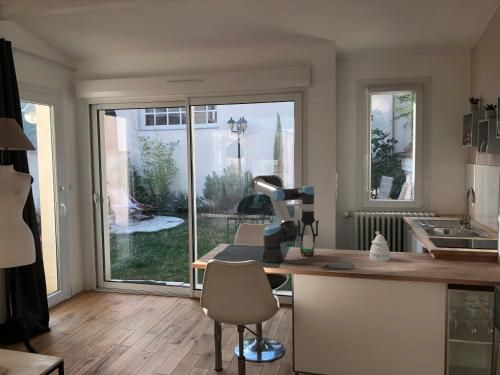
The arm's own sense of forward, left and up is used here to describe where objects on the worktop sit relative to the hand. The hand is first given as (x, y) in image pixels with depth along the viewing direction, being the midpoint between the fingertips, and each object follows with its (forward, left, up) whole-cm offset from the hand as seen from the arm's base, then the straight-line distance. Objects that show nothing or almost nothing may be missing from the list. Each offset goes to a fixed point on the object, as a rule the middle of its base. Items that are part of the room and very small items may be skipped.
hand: (307, 246), depth 267 cm
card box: (0, 0, 0) cm, 0 cm away
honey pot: (+47, +22, -12) cm, 53 cm away
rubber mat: (+20, 0, -12) cm, 23 cm away
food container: (0, +25, -12) cm, 28 cm away
